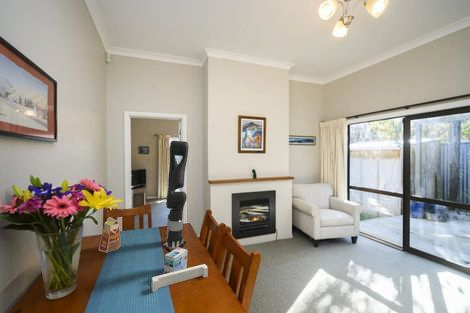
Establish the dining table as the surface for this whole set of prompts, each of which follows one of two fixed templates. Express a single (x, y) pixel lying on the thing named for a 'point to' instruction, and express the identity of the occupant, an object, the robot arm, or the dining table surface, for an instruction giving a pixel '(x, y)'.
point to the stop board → (178, 276)
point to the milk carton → (110, 236)
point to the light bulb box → (175, 260)
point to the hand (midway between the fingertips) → (174, 259)
